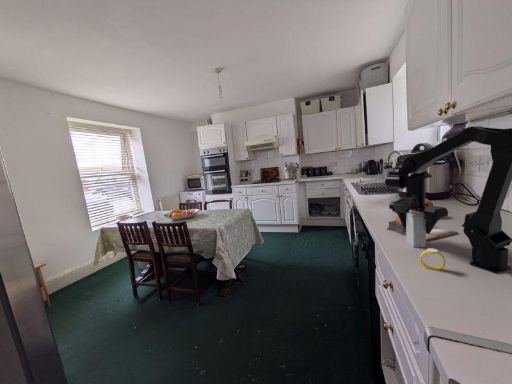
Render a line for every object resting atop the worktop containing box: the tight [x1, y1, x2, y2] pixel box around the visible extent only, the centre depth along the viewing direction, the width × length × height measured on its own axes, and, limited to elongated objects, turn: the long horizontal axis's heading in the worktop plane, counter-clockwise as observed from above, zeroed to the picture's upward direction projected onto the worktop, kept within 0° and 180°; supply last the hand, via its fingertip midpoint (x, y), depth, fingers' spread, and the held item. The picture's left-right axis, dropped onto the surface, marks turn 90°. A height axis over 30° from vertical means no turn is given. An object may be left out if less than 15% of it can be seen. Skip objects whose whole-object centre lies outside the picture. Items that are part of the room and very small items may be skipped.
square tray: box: [386, 219, 459, 243], centre depth 96 cm, size 18×17×4 cm
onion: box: [410, 197, 435, 215], centre depth 116 cm, size 10×10×10 cm
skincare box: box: [405, 211, 427, 248], centre depth 84 cm, size 6×4×12 cm
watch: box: [419, 247, 447, 271], centre depth 67 cm, size 6×3×6 cm, turn 53°
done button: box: [395, 216, 402, 224], centre depth 99 cm, size 3×3×3 cm
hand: (415, 230), depth 84 cm, fingers open, 9 cm apart
